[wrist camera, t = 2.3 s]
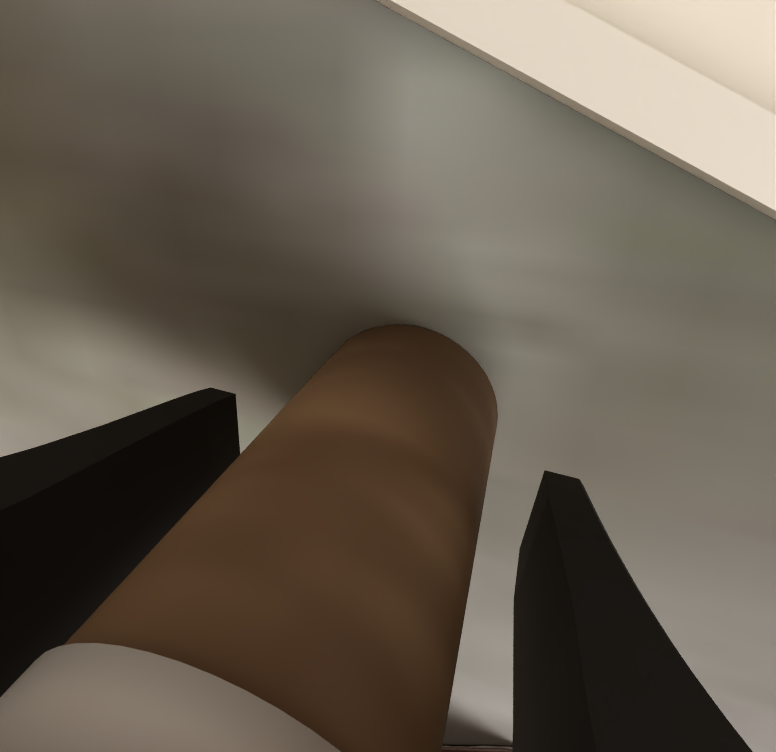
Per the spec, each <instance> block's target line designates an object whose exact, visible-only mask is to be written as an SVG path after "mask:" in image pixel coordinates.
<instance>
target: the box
mask: <svg viewBox="0 0 776 752" xmlns="http://www.w3.org/2000/svg"><path fill="white" fill-rule="evenodd" d="M512 747H513V746H507V747H506V746H485V745H479V746H442V751H441V752H512Z"/></svg>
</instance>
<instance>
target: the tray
mask: <svg viewBox="0 0 776 752" xmlns="http://www.w3.org/2000/svg"><path fill="white" fill-rule="evenodd" d="M375 1H377V2H378V3H380V4H382V5H384V6H386V7H387V8H389V9H391V10H393V11H395V12H397V13H398V14H400V15H402V16H404V17H406V18H408V19H409V20H411V21H413V22H415V23H417V24H419V25H420V26H422V27H424V28H426V29H428V30H429V31H431V32H433V33H435V34H437V35H439V36H440V37H442V38H444V39H446V40H448V41H450V42H451V43H453V44H455V45H457V46H459V47H461V48H462V49H464V50H466V51H468V52H470V53H472V54H473V55H475V56H477V57H479V58H481V59H482V60H484V61H486V62H488V63H490V64H492V65H493V66H495V67H497V68H499V69H501V70H503V71H504V72H506V73H508V74H510V75H512V76H514V77H515V78H517V79H519V80H521V81H523V82H525V83H526V84H528V85H530V86H532V87H534V88H535V89H537V90H539V91H541V92H543V93H545V94H546V95H548V96H550V97H552V98H554V99H556V100H557V101H559V102H561V103H563V104H565V105H567V106H568V107H570V108H572V109H574V110H576V111H578V112H579V113H581V114H583V115H585V116H587V117H588V118H590V119H592V120H594V121H596V122H598V123H599V124H601V125H603V126H605V127H607V128H609V129H610V130H612V131H614V132H616V133H618V134H620V135H621V136H623V137H625V138H627V139H629V140H630V141H632V142H634V143H636V144H638V145H640V146H641V147H643V148H645V149H647V150H649V151H651V152H652V153H654V154H656V155H658V156H660V157H662V158H663V159H665V160H667V161H669V162H671V163H673V164H674V165H676V166H678V167H680V168H682V169H683V170H685V171H687V172H689V173H691V174H693V175H694V176H696V177H698V178H700V179H702V180H704V181H705V182H707V183H709V184H711V185H713V186H715V187H716V188H718V189H720V190H722V191H724V192H726V193H727V194H729V195H731V196H733V197H735V198H736V199H738V200H740V201H742V202H744V203H746V204H747V205H749V206H751V207H753V208H755V209H757V210H758V211H760V212H762V213H764V214H766V215H768V216H769V217H771V218H773V219H775V220H776V0H375Z"/></svg>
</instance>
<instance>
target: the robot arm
mask: <svg viewBox="0 0 776 752" xmlns="http://www.w3.org/2000/svg"><path fill="white" fill-rule="evenodd" d="M239 455H240V447H239V433H238V420H237V407H236V394H234V393H230V392H226V391H222V390H218V389H214V388H207V389H204V390H200V391H197V392H193V393H190V394H187V395H184V396H182V397H179V398H176V399H173V400H170V401H168V402H165V403H162V404H159V405H157V406H154V407H151V408H148V409H146V410H143V411H140V412H138V413H135V414H132V415H129V416H127V417H124V418H121V419H118V420H116V421H113V422H110V423H107V424H105V425H102V426H99V427H96V428H93V429H90V430H87V431H84V432H81V433H78V434H75V435H72V436H69V437H66V438H63V439H60V440H57V441H54V442H51V443H48V444H45V445H41V446H38V447H35V448H31V449H28V450H25V451H21V452H18V453H14V454H11V455H7V456H3V457H0V697H1V696H2V695H3V694H4V693H5V692H6V691H7V690H8V689H9V688H10V687H11V685H12V684H13V683H14V682H15V681H16V680H17V679H18V678H19V677H20V676H21V675H22V674H23V673H24V672H25V671H26V670H27V669H28V668H29V667H30V666H31V665H32V663H33V662H34V661H35V660H36V659H38V658H39V657H40V656H41V655H42V654H43V653H45V652H46V651H49V650H51V649H53V648H56V647H58V646H63V645H64V644H65V643H66V642H67V641H68V640H69V639H70V637H71V636H72V635H73V634H74V633H75V632H76V631H77V630H78V629H79V628H80V627H81V626H82V625H83V623H84V622H85V621H86V620H87V619H88V618H89V617H90V616H91V615H92V614H93V613H94V612H95V611H96V609H97V608H98V607H99V606H100V605H101V604H102V603H103V602H104V601H105V600H106V599H107V598H108V597H109V595H110V594H111V593H112V592H113V591H114V590H115V589H116V588H117V587H118V586H119V585H120V584H121V583H122V581H123V580H124V579H125V578H126V577H127V576H128V575H129V574H130V573H131V572H132V571H133V570H134V569H135V567H136V566H137V565H138V564H139V563H140V562H141V561H142V560H143V559H144V558H145V557H146V556H147V555H148V553H149V552H150V551H151V550H152V549H153V548H154V547H155V546H156V545H157V544H158V543H159V542H160V540H161V539H162V538H163V537H164V536H165V535H166V534H167V533H168V532H169V531H170V530H171V529H172V528H173V526H174V525H175V524H176V523H177V522H178V521H179V520H180V519H181V518H182V517H183V516H184V515H185V514H186V512H187V511H188V510H189V509H190V508H191V507H192V506H193V505H194V504H195V503H196V502H197V501H198V500H199V498H200V497H201V496H202V495H203V494H204V493H205V492H206V491H207V490H208V489H209V488H210V487H211V486H212V484H213V483H214V482H215V481H216V480H217V479H218V478H219V477H220V476H221V475H222V474H223V473H224V472H225V470H226V469H227V468H228V467H229V466H230V465H231V464H232V463H233V462H234V461H235V460H236V459H237V458H238V456H239ZM512 752H752V750H751V749H750V748H749V747H748V745H747V744H746V743H745V742H744V740H743V739H742V738H741V736H740V735H739V734H738V733H737V731H736V730H735V729H734V728H733V726H732V725H731V724H730V722H729V721H728V720H727V719H726V717H725V716H724V715H723V713H722V712H721V711H720V709H719V708H718V706H717V705H716V704H715V702H714V701H713V700H712V698H711V697H710V696H709V694H708V693H707V692H706V690H705V689H704V687H703V686H702V685H701V683H700V682H699V681H698V679H697V678H696V677H695V675H694V674H693V672H692V671H691V670H690V668H689V667H688V665H687V664H686V662H685V661H684V660H683V658H682V657H681V655H680V654H679V652H678V651H677V649H676V648H675V646H674V645H673V643H672V642H671V640H670V639H669V637H668V636H667V634H666V632H665V631H664V629H663V628H662V626H661V625H660V623H659V622H658V620H657V618H656V617H655V615H654V614H653V612H652V611H651V609H650V607H649V606H648V604H647V603H646V601H645V599H644V598H643V596H642V594H641V593H640V591H639V589H638V588H637V586H636V584H635V582H634V581H633V579H632V577H631V576H630V574H629V572H628V570H627V569H626V567H625V565H624V563H623V562H622V560H621V558H620V556H619V555H618V553H617V551H616V549H615V547H614V545H613V544H612V542H611V540H610V538H609V536H608V534H607V532H606V530H605V528H604V526H603V524H602V522H601V521H600V519H599V517H598V515H597V513H596V511H595V509H594V507H593V504H592V502H591V500H590V498H589V496H588V494H587V492H586V490H585V488H584V486H583V484H582V483H581V481H580V480H579V479H577V478H573V477H569V476H565V475H561V474H557V473H553V472H549V471H544V474H543V477H542V480H541V484H540V487H539V490H538V493H537V496H536V499H535V502H534V506H533V509H532V512H531V515H530V518H529V521H528V524H527V528H526V531H525V534H524V537H523V540H522V543H521V547H520V552H519V560H518V568H517V576H516V585H515V594H514V642H513V747H512Z"/></svg>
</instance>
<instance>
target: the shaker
mask: <svg viewBox="0 0 776 752" xmlns="http://www.w3.org/2000/svg"><path fill="white" fill-rule="evenodd" d="M497 417H498V414H497V403H496V398H495V394H494V391H493V388H492V386H491V383H490V381H489V379H488V377H487V375H486V374H485V372H484V371H483V369H482V368H481V366H480V365H479V364H478V362H477V361H476V360H475V359H474V358H473V357H472V356H471V355H470V354H469V353H468V352H467V351H466V350H464V349H463V348H462V347H461V346H460V345H458V344H457V343H455V342H454V341H452V340H450V339H449V338H447V337H445V336H443V335H441V334H439V333H437V332H434V331H431V330H428V329H425V328H421V327H416V326H411V325H400V324H398V325H384V326H378V327H374V328H371V329H368V330H365V331H363V332H361V333H359V334H356V335H355V336H353V337H352V338H350V339H349V340H347V341H346V342H345V343H344V344H343V345H342V346H341V347H340V348H339V349H338V350H337V351H336V352H335V353H334V354H333V355H332V356H331V357H330V358H329V359H328V361H327V362H326V363H325V364H324V365H323V366H322V367H321V368H320V369H319V370H318V371H317V372H316V373H315V375H314V376H313V377H312V378H311V379H310V380H309V381H308V382H307V383H306V384H305V385H304V386H303V387H302V389H301V390H300V391H299V392H298V393H297V394H296V395H295V396H294V397H293V398H292V399H291V400H290V401H289V403H288V404H287V405H286V406H285V407H284V408H283V409H282V410H281V411H280V412H279V413H278V414H277V415H276V417H275V418H274V419H273V420H272V421H271V422H270V423H269V424H268V425H267V426H266V427H265V428H264V429H263V431H262V432H261V433H260V434H259V435H258V436H257V437H256V438H255V439H254V440H253V441H252V442H251V443H250V445H249V446H248V447H247V448H246V449H245V450H244V451H243V452H242V453H241V454H240V455H239V456H238V458H237V459H236V460H235V461H234V462H233V463H232V464H231V465H230V466H229V467H228V468H227V469H226V470H225V472H224V473H223V474H222V475H221V476H220V477H219V478H218V479H217V480H216V481H215V482H214V483H213V484H212V486H211V487H210V488H209V489H208V490H207V491H206V492H205V493H204V494H203V495H202V496H201V497H200V498H199V500H198V501H197V502H196V503H195V504H194V505H193V506H192V507H191V508H190V509H189V510H188V511H187V512H186V514H185V515H184V516H183V517H182V518H181V519H180V520H179V521H178V522H177V523H176V524H175V525H174V526H173V528H172V529H171V530H170V531H169V532H168V533H167V534H166V535H165V536H164V537H163V538H162V539H161V540H160V542H159V543H158V544H157V545H156V546H155V547H154V548H153V549H152V550H151V551H150V552H149V553H148V555H147V556H146V557H145V558H144V559H143V560H142V561H141V562H140V563H139V564H138V565H137V566H136V567H135V569H134V570H133V571H132V572H131V573H130V574H129V575H128V576H127V577H126V578H125V579H124V580H123V581H122V583H121V584H120V585H119V586H118V587H117V588H116V589H115V590H114V591H113V592H112V593H111V594H110V595H109V597H108V598H107V599H106V600H105V601H104V602H103V603H102V604H101V605H100V606H99V607H98V608H97V609H96V611H95V612H94V613H93V614H92V615H91V616H90V617H89V618H88V619H87V620H86V621H85V622H84V623H83V625H82V626H81V627H80V628H79V629H78V630H77V631H76V632H75V633H74V634H73V635H72V636H71V637H70V639H69V640H68V641H67V642H66V643H65V644H64V645H63V646H58V647H56V648H53V649H51V650H49V651H46V652H45V653H43V654H42V655H41V656H40V657H39V658H38V659H36V660H35V661H34V662H33V663H32V665H31V666H30V667H29V668H28V669H27V670H26V671H25V672H24V673H23V674H22V675H21V676H20V677H19V678H18V679H17V680H16V681H15V682H14V683H13V684H12V685H11V687H10V688H9V689H8V690H7V691H6V692H5V693H4V694H3V695H2V696H1V697H0V752H441V751H442V745H443V739H444V733H445V727H446V721H447V715H448V709H449V704H450V698H451V692H452V686H453V680H454V674H455V668H456V662H457V656H458V651H459V645H460V639H461V633H462V627H463V621H464V615H465V609H466V603H467V598H468V592H469V586H470V580H471V574H472V568H473V562H474V556H475V550H476V545H477V539H478V533H479V527H480V521H481V515H482V509H483V503H484V497H485V492H486V486H487V480H488V474H489V468H490V462H491V456H492V450H493V444H494V439H495V433H496V427H497Z"/></svg>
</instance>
